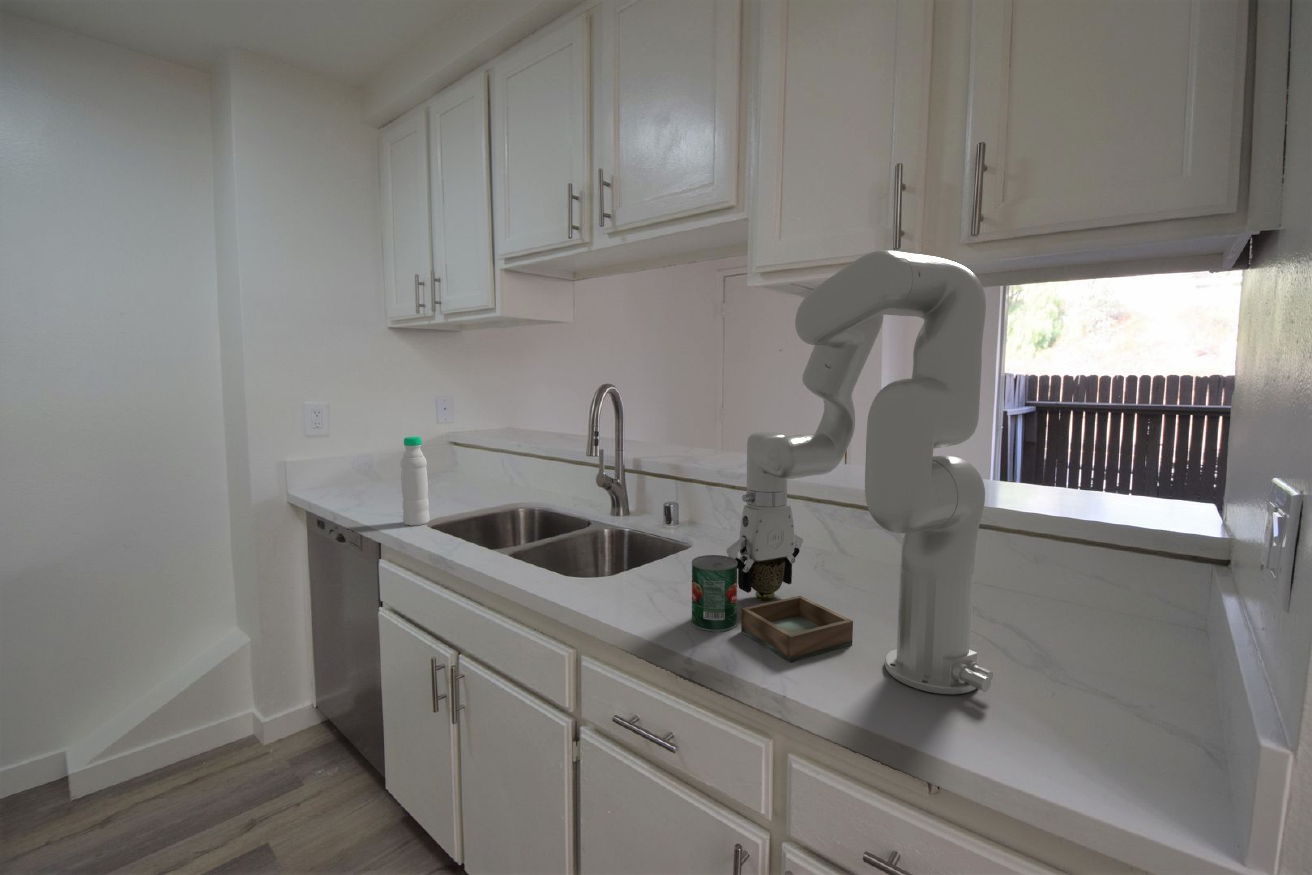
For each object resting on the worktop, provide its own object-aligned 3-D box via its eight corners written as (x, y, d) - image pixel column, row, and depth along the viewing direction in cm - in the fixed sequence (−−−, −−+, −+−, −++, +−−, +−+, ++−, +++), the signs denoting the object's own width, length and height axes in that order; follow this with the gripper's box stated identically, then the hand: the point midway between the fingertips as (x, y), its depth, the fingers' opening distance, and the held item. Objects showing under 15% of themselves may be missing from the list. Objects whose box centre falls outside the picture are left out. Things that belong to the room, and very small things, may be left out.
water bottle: (423, 519, 184) (419, 435, 181) (433, 523, 179) (429, 437, 176) (399, 523, 179) (395, 437, 177) (409, 527, 174) (404, 439, 171)
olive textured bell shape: (784, 607, 115) (785, 565, 114) (744, 604, 116) (745, 562, 115) (784, 593, 122) (785, 553, 121) (746, 590, 124) (747, 551, 123)
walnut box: (852, 645, 99) (853, 620, 99) (790, 662, 93) (790, 636, 93) (799, 617, 110) (800, 595, 110) (741, 631, 104) (741, 608, 104)
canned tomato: (684, 617, 110) (684, 557, 109) (724, 611, 113) (724, 552, 112) (702, 635, 103) (703, 570, 102) (745, 628, 106) (745, 565, 104)
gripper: (740, 506, 110) (739, 600, 112) (815, 497, 118) (813, 584, 120) (717, 499, 116) (716, 587, 118) (789, 490, 124) (788, 573, 126)
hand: (765, 586), depth 119 cm, fingers open, 9 cm apart
